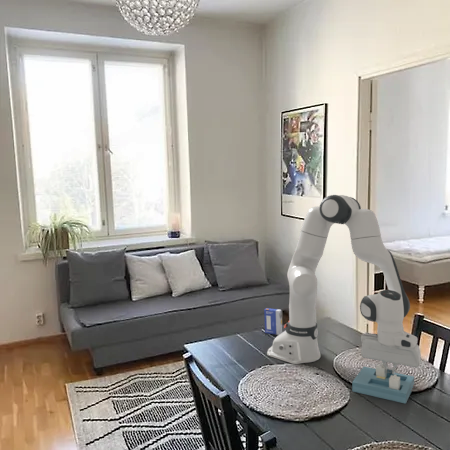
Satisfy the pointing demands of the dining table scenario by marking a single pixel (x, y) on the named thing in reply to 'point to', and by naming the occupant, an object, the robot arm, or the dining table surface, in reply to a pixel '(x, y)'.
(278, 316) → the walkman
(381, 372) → the tab far
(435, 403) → the dining table surface
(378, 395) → the switch bank
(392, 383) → the tab near
